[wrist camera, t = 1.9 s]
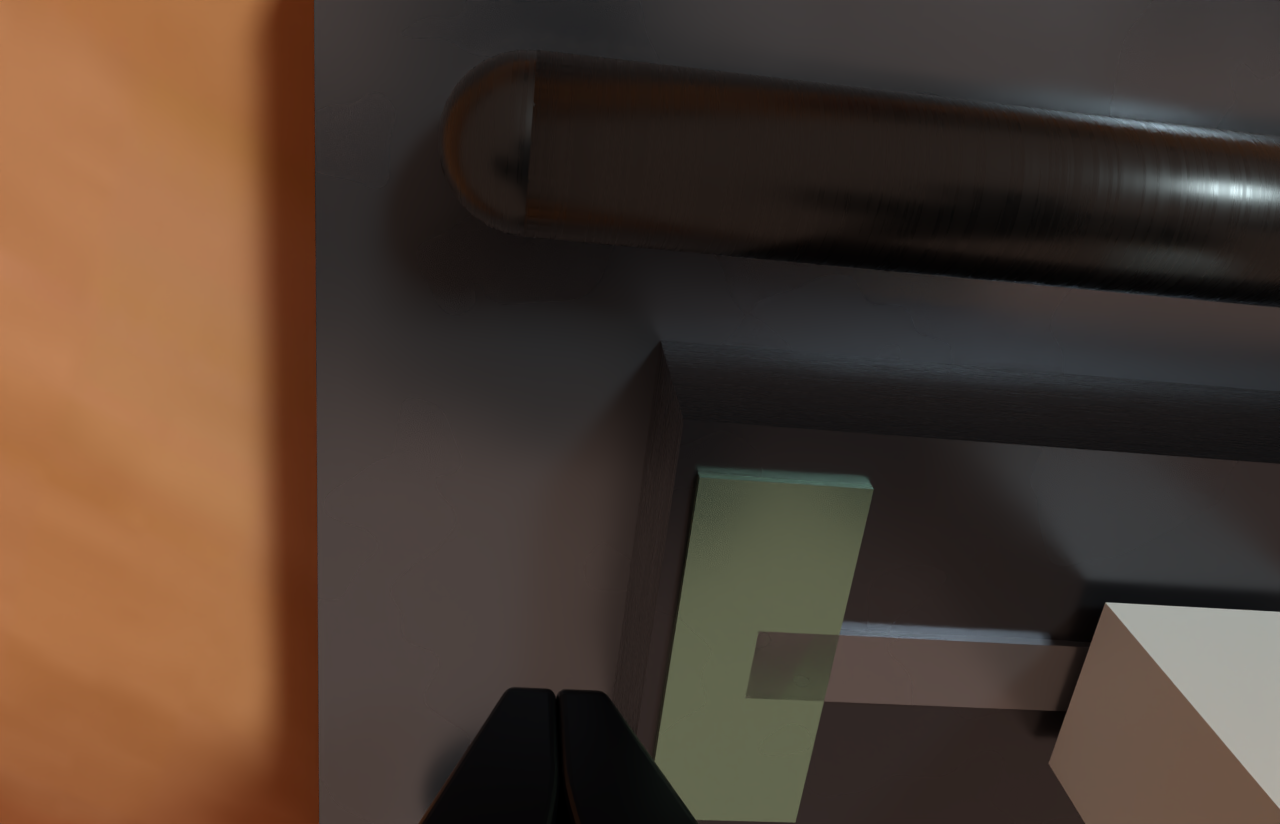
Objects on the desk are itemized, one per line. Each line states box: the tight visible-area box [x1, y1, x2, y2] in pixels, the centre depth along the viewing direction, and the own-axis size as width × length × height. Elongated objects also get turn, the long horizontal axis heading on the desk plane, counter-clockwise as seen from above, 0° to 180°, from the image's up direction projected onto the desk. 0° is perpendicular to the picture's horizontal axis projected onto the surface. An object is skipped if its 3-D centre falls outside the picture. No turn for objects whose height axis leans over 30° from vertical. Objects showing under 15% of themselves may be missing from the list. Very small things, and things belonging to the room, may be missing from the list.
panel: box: [314, 0, 1280, 824], centre depth 12 cm, size 18×13×4 cm
